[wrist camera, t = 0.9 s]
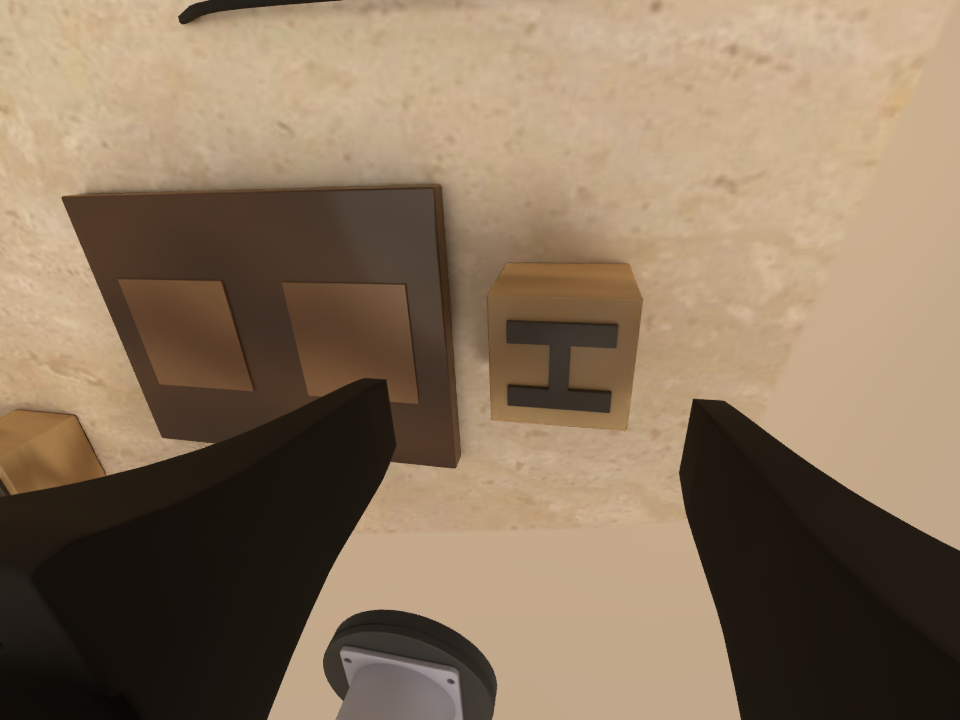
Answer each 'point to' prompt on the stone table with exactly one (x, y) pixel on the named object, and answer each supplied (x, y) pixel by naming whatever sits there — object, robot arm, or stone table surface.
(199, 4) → the glasses
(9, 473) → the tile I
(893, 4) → the stone table surface
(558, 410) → the tile
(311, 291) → the word board
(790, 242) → the stone table surface
